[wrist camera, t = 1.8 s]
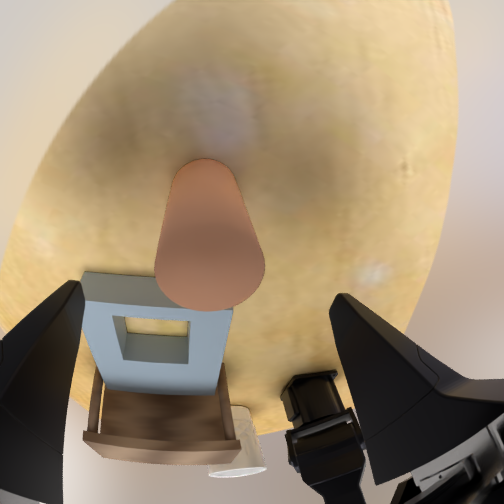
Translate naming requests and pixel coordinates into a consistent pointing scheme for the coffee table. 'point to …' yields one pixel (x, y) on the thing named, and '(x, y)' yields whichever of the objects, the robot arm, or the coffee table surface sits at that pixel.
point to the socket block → (151, 338)
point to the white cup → (251, 452)
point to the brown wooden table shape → (163, 426)
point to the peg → (207, 241)
